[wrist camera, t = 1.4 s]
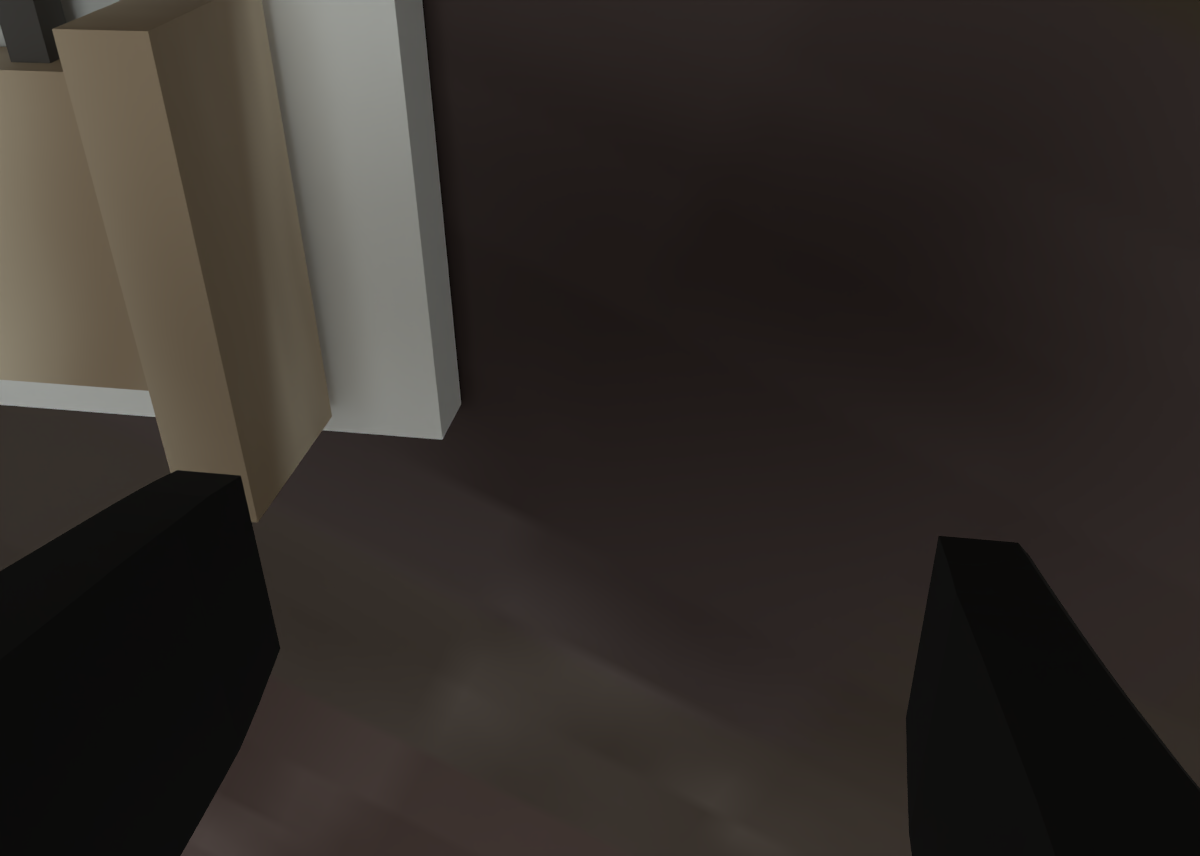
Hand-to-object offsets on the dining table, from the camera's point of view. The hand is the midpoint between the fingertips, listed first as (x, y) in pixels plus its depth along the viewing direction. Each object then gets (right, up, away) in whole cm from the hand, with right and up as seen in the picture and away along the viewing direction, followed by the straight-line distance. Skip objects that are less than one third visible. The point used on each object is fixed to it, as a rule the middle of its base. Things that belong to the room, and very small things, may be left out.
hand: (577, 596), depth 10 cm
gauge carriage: (-7, +6, +7) cm, 12 cm away
